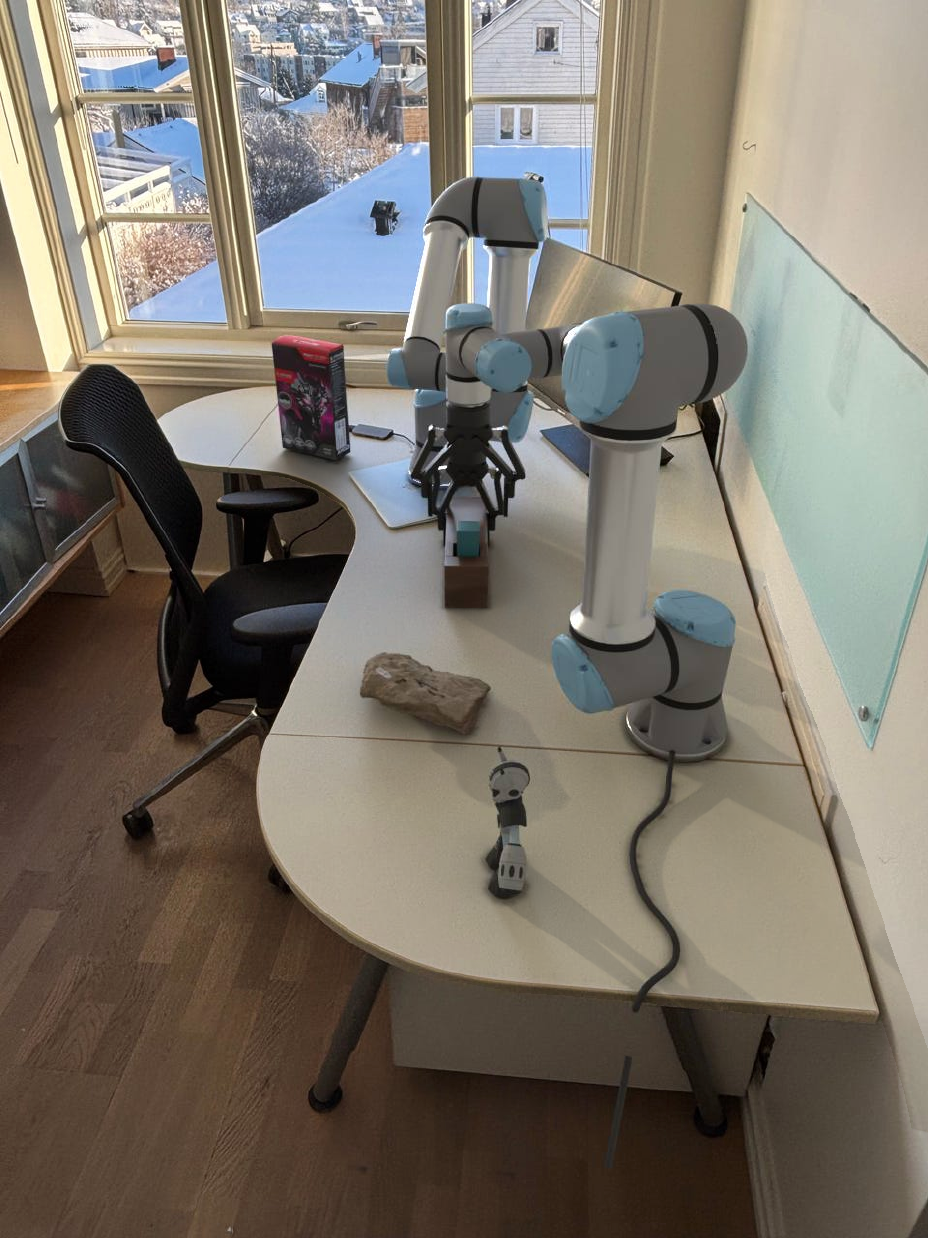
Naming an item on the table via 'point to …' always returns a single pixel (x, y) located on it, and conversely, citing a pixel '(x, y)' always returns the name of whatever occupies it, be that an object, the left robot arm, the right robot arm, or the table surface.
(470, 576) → the hole block
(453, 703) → the stone
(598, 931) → the table surface
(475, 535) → the peg
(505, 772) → the robot
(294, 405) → the graphics card box
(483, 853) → the table surface
